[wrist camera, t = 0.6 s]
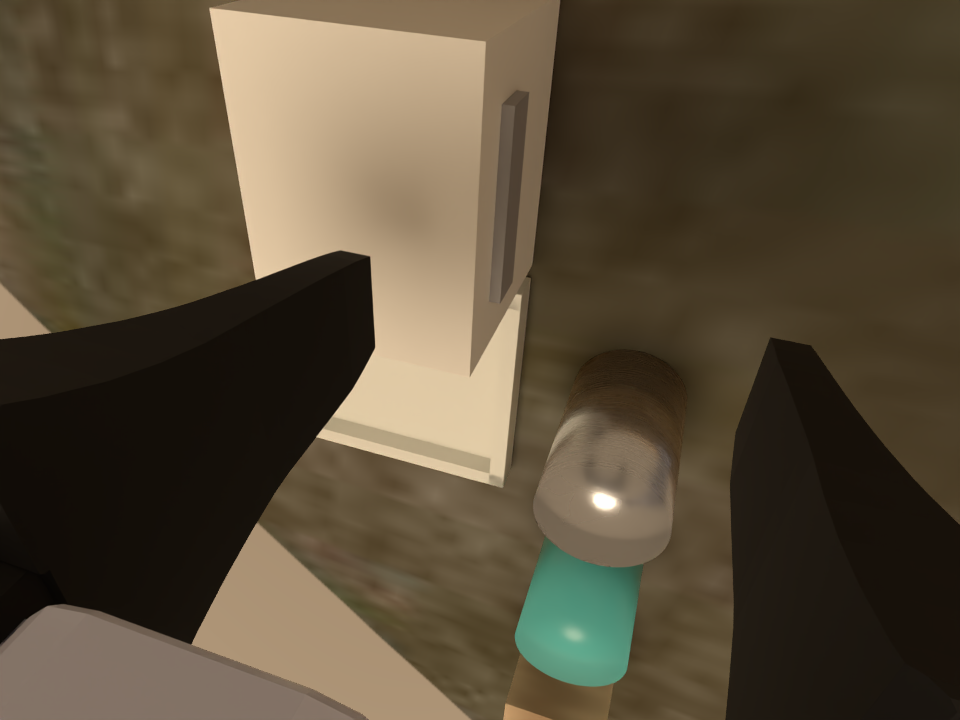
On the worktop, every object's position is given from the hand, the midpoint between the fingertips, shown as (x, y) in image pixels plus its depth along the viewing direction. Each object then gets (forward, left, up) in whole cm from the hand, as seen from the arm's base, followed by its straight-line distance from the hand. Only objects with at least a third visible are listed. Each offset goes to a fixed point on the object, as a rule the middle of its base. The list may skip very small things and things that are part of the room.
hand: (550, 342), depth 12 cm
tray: (+7, +9, -10) cm, 15 cm away
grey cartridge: (-1, +8, -10) cm, 13 cm away
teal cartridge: (-1, +15, -10) cm, 18 cm away
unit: (+6, 0, -10) cm, 11 cm away
